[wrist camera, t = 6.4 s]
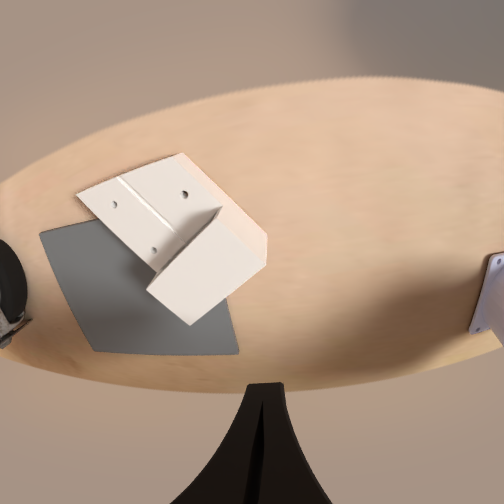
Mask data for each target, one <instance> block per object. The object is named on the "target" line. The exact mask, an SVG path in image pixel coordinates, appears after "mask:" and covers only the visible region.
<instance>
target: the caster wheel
mask: <svg viewBox="0 0 504 504" xmlns="http://www.w3.org/2000/svg"><path fill="white" fill-rule="evenodd" d="M26 301H27V285H26V280H25V275H24V272H23V269H22V266H21V264H20V261H19V259H18V257H17V256H16V254H15V253H14V251H13V250H12V249H11V247H10V246H9V245H8V244H7V243H5V242H4V241H2V240H0V348H1V349H3V348H5V347H6V346H7V345H9V344H10V343H11V340H12V336H14V335H15V334H16V333H17V332H18V331H20V330H21V329H22V328H23V327H25V326H26V325H27V324H28V323H30V322H31V321H32V320H33V319H32V320H30V321H29V322H27V323H26V324H24V325H23V326H21V327H20V328H18V329H16V330H15V331H14V330H13V329H14V328H15V327H16V326H17V325H18V324H19V323H20V322H22V320H23V318H24V315H25V312H24V311H23V310H24V308H25V305H26ZM11 330H12V331H11ZM8 332H9V333H8Z"/></svg>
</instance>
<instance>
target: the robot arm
mask: <svg viewBox="0 0 504 504" xmlns="http://www.w3.org/2000/svg"><path fill="white" fill-rule="evenodd" d="M488 329H491V330H492V331H493V332H494V334H495V335H496V337H497V338H498V339H499V341H500V342H501V344H502V345H503V347H504V253H500V254H494V255H492V256H491V257H490V259H489V263H488V267H487V271H486V275H485V279H484V283H483V287H482V290H481V294H480V297H479V301H478V304H477V307H476V310H475V313H474V316H473V319H472V322H471V325H470V328H469V333H470V334H471V335H472V334H476V333H479V332H482V331H485V330H488ZM170 504H332V502H331V501H330V499H329V498H328V496H327V495H326V493H325V492H324V490H323V489H322V487H321V485H320V484H319V482H318V481H317V479H316V477H315V475H314V474H313V472H312V470H311V468H310V466H309V464H308V462H307V460H306V458H305V456H304V454H303V452H302V450H301V447H300V445H299V443H298V440H297V438H296V435H295V433H294V430H293V427H292V424H291V421H290V418H289V415H288V411H287V407H286V400H285V392H284V384H283V383H281V382H276V383H257V384H249V385H247V388H246V392H245V395H244V397H243V400H242V403H241V405H240V408H239V410H238V412H237V414H236V416H235V418H234V420H233V423H232V424H231V426H230V429H229V430H228V433H227V434H226V436H225V437H224V439H223V441H222V442H221V444H220V446H219V447H218V449H217V451H216V452H215V454H214V455H213V457H212V458H211V459H210V461H209V462H208V463H207V465H206V466H205V467H204V469H203V470H202V471H201V472H200V473H199V475H198V476H197V477H196V478H195V479H194V481H193V482H192V483H191V484H190V485H189V486H188V487H187V488H186V489H185V490H184V491H183V492H182V493H181V494H180V495H179V496H178V497H177V498H176V499H175V500H173V502H171V503H170Z"/></svg>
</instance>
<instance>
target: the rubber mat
mask: <svg viewBox="0 0 504 504" xmlns="http://www.w3.org/2000/svg"><path fill="white" fill-rule="evenodd" d="M39 236H40V239H41V241H42V244H43V247H44V249H45V252H46V255H47V257H48V260H49V262H50V265H51V267H52V269H53V272H54V274H55V276H56V279H57V281H58V283H59V285H60V288H61V290H62V292H63V294H64V296H65V298H66V300H67V302H68V305H69V307H70V309H71V311H72V312H73V314H74V316H75V318H76V320H77V322H78V324H79V326H80V328H81V329H82V331H83V333H84V335H85V337H86V338H87V340H88V342H89V344H90V345H91V347H92V349H93V350H94V351H98V352H110V353H125V354H144V355H235V354H239V349H238V345H237V341H236V337H235V333H234V329H233V325H232V321H231V317H230V313H229V309H228V305H227V301H226V298H225V299H223V300H222V301H221V302H220V303H218V304H217V305H216V306H214V307H213V308H212V309H211V310H209V311H208V312H207V313H206V314H204V315H203V316H202V317H201V318H199V319H198V320H197V321H195V322H194V323H193V324H192V325H190V326H189V325H188V324H187V323H186V322H184V321H183V320H182V319H181V318H179V317H178V316H177V315H176V314H174V313H173V312H172V311H171V310H169V309H168V308H167V307H166V306H165V305H163V304H162V303H161V302H160V301H159V300H157V299H156V298H155V297H154V296H153V295H152V294H150V293H149V292H148V291H147V290H146V289H147V287H148V286H149V284H150V283H151V281H152V280H153V278H154V277H155V275H156V274H157V272H156V271H155V270H153V269H152V268H151V267H150V266H149V265H148V264H147V263H146V262H145V261H143V260H142V259H141V258H140V257H139V256H138V255H137V254H136V253H135V252H134V251H133V250H131V249H130V248H129V247H128V246H127V245H126V244H125V243H124V242H123V241H122V240H121V239H120V238H119V237H118V236H117V235H116V234H114V233H113V232H112V231H111V230H110V229H109V228H108V227H107V226H106V225H105V224H104V223H103V222H102V221H101V220H100V219H94V220H90V221H85V222H81V223H77V224H72V225H68V226H64V227H60V228H56V229H52V230H48V231H44V232H41V233H40V234H39Z"/></svg>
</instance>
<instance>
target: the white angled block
mask: <svg viewBox="0 0 504 504" xmlns="http://www.w3.org/2000/svg"><path fill="white" fill-rule="evenodd" d="M76 195H77V197H78V198H79V199H80V200H81V201H82V202H83V203H84V204H85V205H86V206H87V207H88V208H89V209H90V210H91V211H92V212H93V213H94V214H95V215H96V216H97V217H98V218H99V219H100V220H101V221H102V222H103V223H104V224H105V225H106V226H107V227H108V228H109V229H110V230H111V231H112V232H113V233H114V234H116V235H117V236H118V237H119V238H120V239H121V240H122V241H123V242H124V243H125V244H126V245H127V246H128V247H129V248H130V249H131V250H133V251H134V252H135V253H136V254H137V255H138V256H139V257H140V258H141V259H142V260H143V261H145V262H146V263H147V264H148V265H149V266H150V267H151V268H152V269H153V270H155V271H156V272H157V274H156V275H155V277H154V278H153V280H152V281H151V283H150V284H149V286H148V287H147V289H146V290H147V291H148V292H149V293H150V294H152V295H153V296H154V297H155V298H156V299H157V300H159V301H160V302H161V303H162V304H163V305H165V306H166V307H167V308H168V309H169V310H171V311H172V312H173V313H174V314H176V315H177V316H178V317H179V318H181V319H182V320H183V321H184V322H186V323H187V324H188V325H189V326H190V325H192V324H193V323H194V322H195V321H197V320H198V319H199V318H201V317H202V316H203V315H204V314H206V313H207V312H208V311H209V310H211V309H212V308H213V307H214V306H216V305H217V304H218V303H220V302H221V301H222V300H223V299H225V298H226V297H227V296H228V295H230V294H231V293H232V292H233V291H235V290H236V289H237V288H238V287H240V286H241V285H242V284H243V283H245V282H246V281H247V280H248V279H249V278H251V277H252V276H253V275H254V274H256V273H257V272H258V271H259V270H261V269H262V268H263V267H264V266H266V258H267V234H266V233H265V232H264V231H263V230H262V229H261V228H260V227H259V226H258V225H257V224H256V223H255V222H254V221H253V220H252V219H251V218H250V217H249V216H248V215H247V214H246V213H245V212H244V211H243V210H242V209H241V208H240V207H239V206H238V205H237V204H236V203H235V202H234V201H233V200H232V199H231V198H229V197H228V196H227V195H226V194H225V193H224V192H223V191H222V190H221V189H220V188H219V187H218V186H217V185H216V184H215V183H214V182H213V181H212V180H211V179H210V178H209V177H208V176H207V175H206V174H205V173H204V172H203V171H201V170H200V169H199V168H198V167H197V166H196V165H195V164H194V163H193V162H192V161H191V160H190V159H189V158H188V157H187V156H186V155H185V154H184V153H183V152H182V153H179V154H176V155H173V156H170V157H167V158H164V159H161V160H158V161H155V162H152V163H150V164H147V165H144V166H141V167H139V168H136V169H134V170H131V171H128V172H126V173H123V174H121V175H118V176H116V177H113V178H111V179H108V180H106V181H104V182H101V183H99V184H97V185H94V186H92V187H90V188H88V189H86V190H84V191H82V192H80V193H78V194H76Z"/></svg>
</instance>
